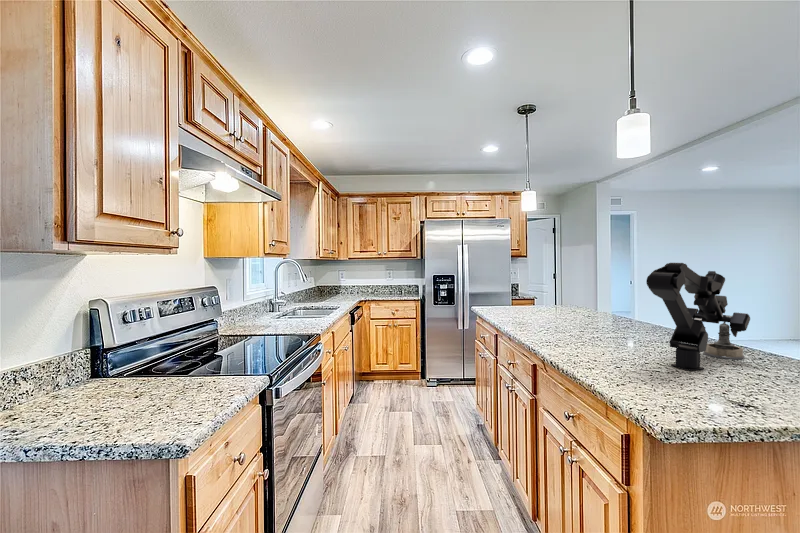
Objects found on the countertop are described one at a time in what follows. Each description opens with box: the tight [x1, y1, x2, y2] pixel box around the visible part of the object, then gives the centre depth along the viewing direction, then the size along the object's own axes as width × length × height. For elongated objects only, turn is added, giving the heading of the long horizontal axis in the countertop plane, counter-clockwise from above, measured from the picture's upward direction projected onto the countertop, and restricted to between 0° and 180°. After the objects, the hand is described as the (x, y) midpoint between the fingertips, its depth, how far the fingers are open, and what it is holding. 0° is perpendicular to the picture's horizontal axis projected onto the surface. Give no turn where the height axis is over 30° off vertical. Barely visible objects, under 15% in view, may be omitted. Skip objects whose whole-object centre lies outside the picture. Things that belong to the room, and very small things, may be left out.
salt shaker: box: [713, 322, 735, 350], centre depth 143 cm, size 6×6×12 cm
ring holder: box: [702, 342, 745, 361], centre depth 144 cm, size 12×12×3 cm
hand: (719, 333), depth 142 cm, fingers open, 9 cm apart
